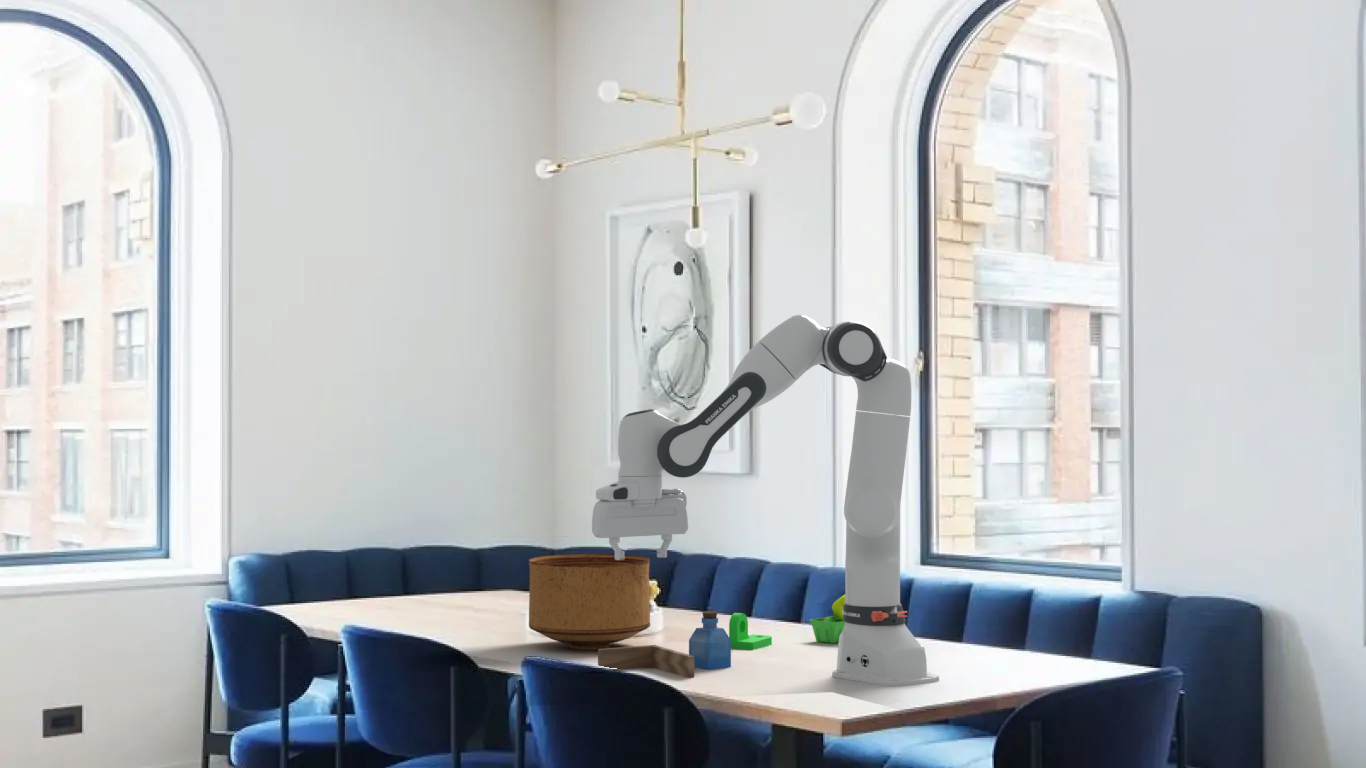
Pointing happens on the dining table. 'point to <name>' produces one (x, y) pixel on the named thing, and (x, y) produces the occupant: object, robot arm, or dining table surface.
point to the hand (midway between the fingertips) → (640, 558)
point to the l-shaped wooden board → (647, 659)
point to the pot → (589, 598)
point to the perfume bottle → (710, 644)
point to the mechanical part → (745, 634)
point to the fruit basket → (830, 624)
